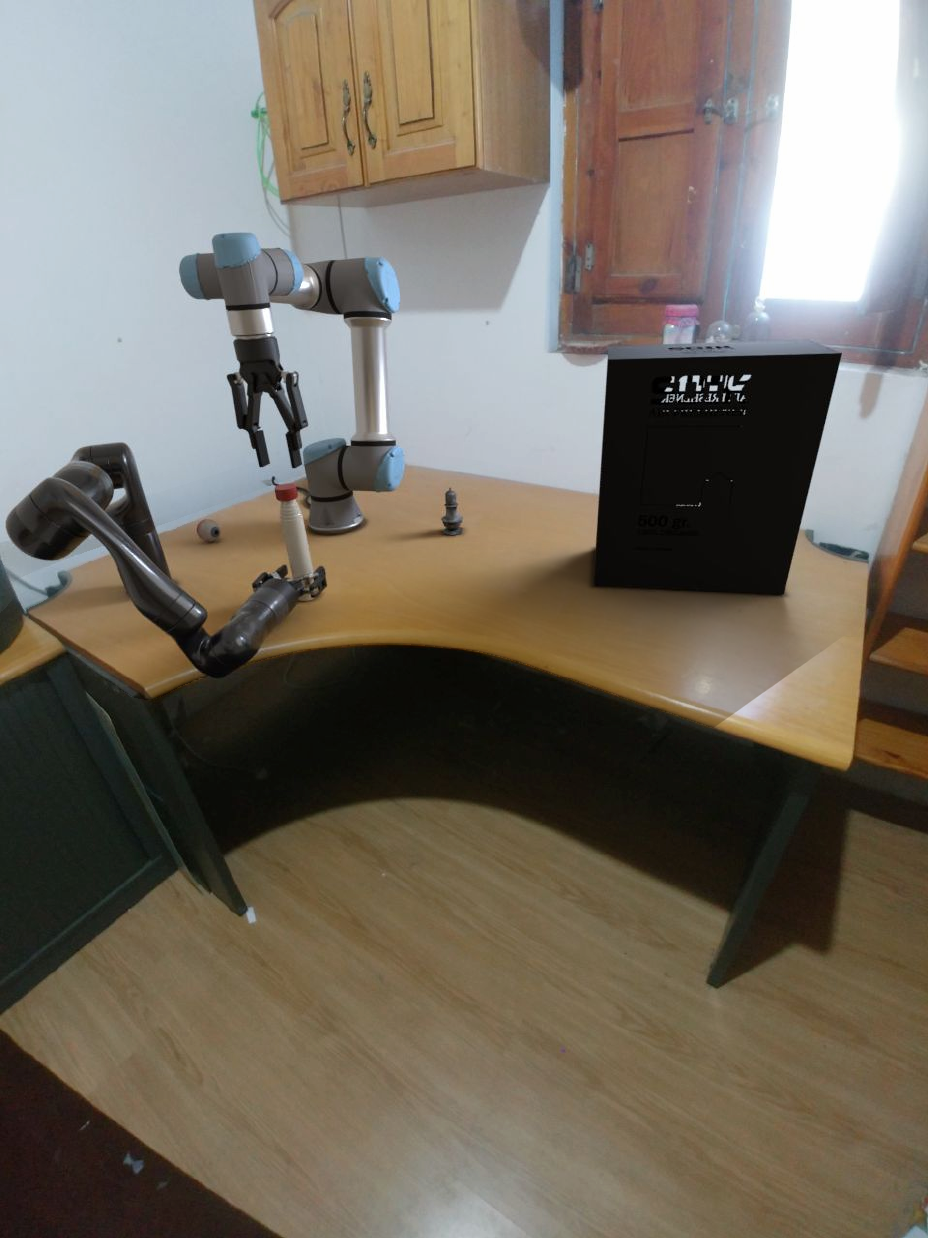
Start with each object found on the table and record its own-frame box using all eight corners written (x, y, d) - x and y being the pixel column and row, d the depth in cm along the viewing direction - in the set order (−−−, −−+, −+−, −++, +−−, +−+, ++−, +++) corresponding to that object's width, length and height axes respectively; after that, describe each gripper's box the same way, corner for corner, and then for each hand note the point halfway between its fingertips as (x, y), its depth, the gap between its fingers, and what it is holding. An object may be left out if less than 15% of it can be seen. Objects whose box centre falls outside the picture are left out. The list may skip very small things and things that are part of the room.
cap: (287, 493, 124) (285, 482, 123) (302, 496, 122) (300, 484, 121) (272, 499, 121) (269, 488, 120) (286, 502, 119) (284, 491, 118)
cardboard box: (762, 553, 139) (808, 339, 116) (783, 594, 122) (842, 352, 99) (595, 547, 147) (608, 345, 124) (593, 585, 129) (608, 359, 107)
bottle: (307, 589, 135) (286, 483, 123) (322, 594, 133) (301, 486, 121) (292, 598, 132) (269, 490, 120) (307, 602, 130) (284, 493, 118)
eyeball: (210, 546, 160) (204, 525, 157) (195, 542, 163) (189, 521, 160) (228, 538, 164) (223, 518, 161) (213, 535, 167) (208, 514, 164)
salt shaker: (461, 535, 158) (459, 491, 152) (439, 534, 159) (436, 490, 153) (465, 527, 163) (463, 483, 157) (444, 526, 164) (441, 483, 158)
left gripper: (300, 589, 113) (332, 554, 127) (231, 586, 116) (270, 552, 130) (307, 623, 117) (337, 586, 131) (240, 620, 120) (277, 583, 133)
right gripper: (313, 332, 107) (334, 461, 119) (219, 335, 112) (248, 459, 124) (292, 337, 101) (316, 472, 112) (194, 340, 106) (226, 469, 117)
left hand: (304, 569), depth 130 cm, fingers open, 8 cm apart
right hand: (280, 465), depth 118 cm, fingers open, 6 cm apart
